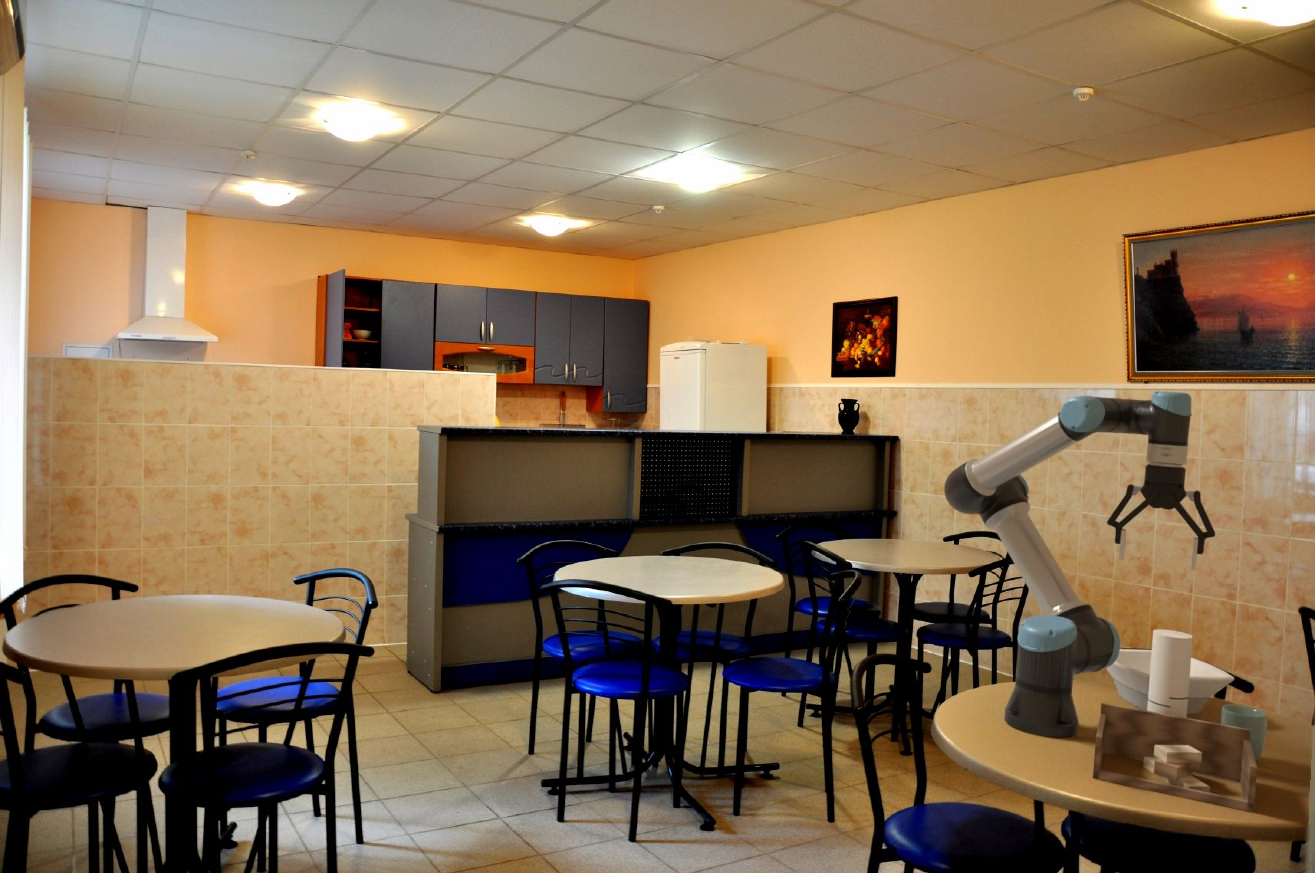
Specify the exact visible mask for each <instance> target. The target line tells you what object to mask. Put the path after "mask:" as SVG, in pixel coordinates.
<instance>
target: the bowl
mask: <svg viewBox="0 0 1315 873" xmlns="http://www.w3.org/2000/svg"><path fill="white" fill-rule="evenodd" d="M1151 654H1152V649H1132V648H1131V649H1130V648H1129V649H1127V648H1126V649H1124V648H1120V650H1119V656H1118V658H1117V659H1116V661H1115V662H1114V663H1113V664H1112V665H1111V666H1109V667H1107V668H1105V669H1106V670H1107V672H1108V673H1109V675H1110V677H1112V679H1113V681H1114V684H1115V686H1116V690H1117V692H1118V695H1119V697H1121V698H1122V699H1123V701H1126V702H1128V703H1129V704H1130V705H1133V706H1135V707H1136V708H1138V709H1140V710H1146V711H1147V706H1148V693H1149V680H1150V667H1151ZM1233 681H1235V677H1234V676H1232V674H1231V675H1230V674H1229V673H1228V672H1226V671H1224V670H1222V669H1220V668H1218V667H1216V666H1214V665H1213V664H1210V663H1207V662H1205V661H1202V660H1200V659H1197V658H1195V657H1192V656H1191V666H1190V679H1189V691H1188V704H1187V715H1195V714H1200V712H1201V711H1202V709H1203V708H1204V707H1205V705H1206V703H1207V702H1208V701H1209V699H1210V698H1211V697H1213V696H1214V695H1216V694H1217V693H1218V692H1219V691H1221V690H1223V689H1224V688H1225V687H1226V686H1228V685H1229V684H1230V683H1232V682H1233Z"/></svg>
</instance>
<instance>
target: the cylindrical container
mask: <svg viewBox="0 0 1315 873" xmlns="http://www.w3.org/2000/svg"><path fill="white" fill-rule="evenodd" d="M1193 639H1194V636H1193V635H1192V634H1190V633H1187V632H1183V631H1178V630H1171V629H1161V628H1160V629H1158V628H1157V629H1153V631H1152V643H1151V644H1152V645H1151V650H1152V654H1151V667H1150V680H1149V693H1148V706H1147V711H1151V712H1157V713H1162V714H1168V715H1173V716H1179V717H1185V718H1188V717H1187V716H1188V714H1187V704H1188V691H1189V679H1190V666H1191V657H1192V650H1193Z"/></svg>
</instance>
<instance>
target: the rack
mask: <svg viewBox="0 0 1315 873" xmlns="http://www.w3.org/2000/svg"><path fill="white" fill-rule="evenodd" d="M1094 745H1095V746H1094V757H1093V771H1092V772H1093V773H1092V778H1093V779H1097V780H1101V781H1105V782H1111V783H1115V784H1120V785H1125V786H1128V787H1129V786H1130V787H1135V788H1138V789H1143V790H1147V791H1153V792H1157V793H1162V794H1167V795H1171V796H1175V797H1181V798H1185V799H1190V800H1194V801H1199V802H1204V803H1209V804H1213V805H1216V806H1217V805H1219V806H1223V807H1226V808H1227V807H1228V808H1232V809H1238V810H1242V811H1245V812H1251V813H1254V811H1255V799H1256V790H1257V789H1256V788H1257V775H1258V766H1257V762H1256V761H1255V758H1254V755H1253V751H1252V748H1251V744H1250V729H1246V728H1240V727H1235V726H1229V725H1223V724H1221V723H1217V722H1216V723H1215V722H1212V721H1211V722H1210V721H1205V720H1200V719H1194V718H1190V717H1186V718H1185V717H1179V716H1173V715H1168V714H1162V713H1157V712H1151V711H1146V710H1143V709H1141V708H1135V707H1129V706H1123V705H1117V704H1116V705H1115V704H1111V703H1106V702H1101V704H1100V714H1099V719H1098V724H1097V730H1096V734H1095V744H1094ZM1155 745H1189V746H1191V747H1193V748H1195V749H1196V750H1198V751H1200V752H1202V759H1201V766H1200V769H1199V770H1197V771H1195V772H1194V773H1201V774H1204V775H1205V774H1206V775H1211V776H1214V777H1220V778H1225V779H1231V780H1236V781H1240V786H1241V791H1242V794H1243V799H1241V798H1237V797H1233V796H1227V795H1224V794H1223V795H1221V794H1217V793H1213V792H1210V791H1209V792H1204V791H1199V790H1194V789H1190V788H1185V787H1180V786H1175V785H1171V784H1169V783H1167V782H1160V781H1156V780H1150V779H1147V778H1142V777H1136V776H1131V775H1127V774H1122V773H1116V772H1114V771H1113V772H1112V771H1107V770H1103V769H1101V768H1102V761H1103V756H1104V754H1107V755H1111V756H1115V757H1116V756H1117V757H1121V758H1126V759H1131V760H1134V761H1135V760H1136V761H1140V762H1144V757H1156V756H1154V746H1155Z"/></svg>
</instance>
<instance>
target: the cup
mask: <svg viewBox="0 0 1315 873" xmlns="http://www.w3.org/2000/svg"><path fill="white" fill-rule="evenodd" d="M1220 724H1223V725H1229V726H1235V727H1240V728H1246V729H1250V744H1251V748H1252V751H1253V755H1254V758H1255V762H1256V761H1257V760H1259V759H1260V757H1262V754H1263V752H1264V749H1265V742H1266V735H1267V724H1268V715H1267V713H1266V712H1264V711H1263V710H1261V709H1258V708H1254V707H1250V706H1247V705H1240V704H1225V705H1223V706H1222V708H1221V714H1220Z"/></svg>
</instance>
